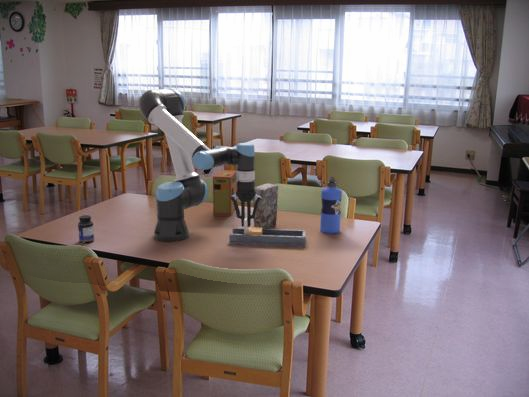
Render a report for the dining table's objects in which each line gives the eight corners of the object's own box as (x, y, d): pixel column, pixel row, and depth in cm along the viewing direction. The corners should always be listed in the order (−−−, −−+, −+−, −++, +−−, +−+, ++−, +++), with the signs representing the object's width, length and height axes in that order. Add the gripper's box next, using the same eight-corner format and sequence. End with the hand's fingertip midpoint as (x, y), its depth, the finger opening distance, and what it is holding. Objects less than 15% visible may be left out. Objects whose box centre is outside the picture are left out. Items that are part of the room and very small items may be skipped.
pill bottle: (78, 240, 231) (76, 215, 228) (93, 238, 233) (91, 213, 230) (80, 244, 225) (78, 219, 223) (95, 242, 228) (93, 217, 225)
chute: (229, 244, 227) (229, 235, 226) (233, 235, 238) (233, 226, 237) (304, 247, 224) (305, 238, 223) (305, 238, 235) (305, 229, 234)
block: (246, 240, 229) (246, 231, 228) (248, 235, 234) (248, 227, 233) (260, 240, 228) (261, 231, 227) (262, 236, 234) (262, 227, 233)
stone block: (265, 232, 243) (265, 189, 238) (251, 229, 247) (251, 187, 242) (278, 224, 255) (279, 183, 250) (265, 222, 258) (265, 182, 253)
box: (220, 207, 285) (220, 170, 280) (237, 207, 284) (237, 170, 279) (213, 215, 269) (212, 176, 264) (230, 216, 268) (230, 177, 263)
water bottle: (315, 230, 246) (317, 177, 240) (327, 226, 252) (329, 174, 246) (332, 235, 240) (334, 180, 233) (344, 230, 246) (346, 177, 240)
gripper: (229, 181, 222) (229, 235, 228) (260, 182, 221) (260, 236, 227) (231, 178, 229) (232, 230, 235) (262, 178, 228) (262, 231, 234)
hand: (246, 233), depth 231 cm, fingers closed
